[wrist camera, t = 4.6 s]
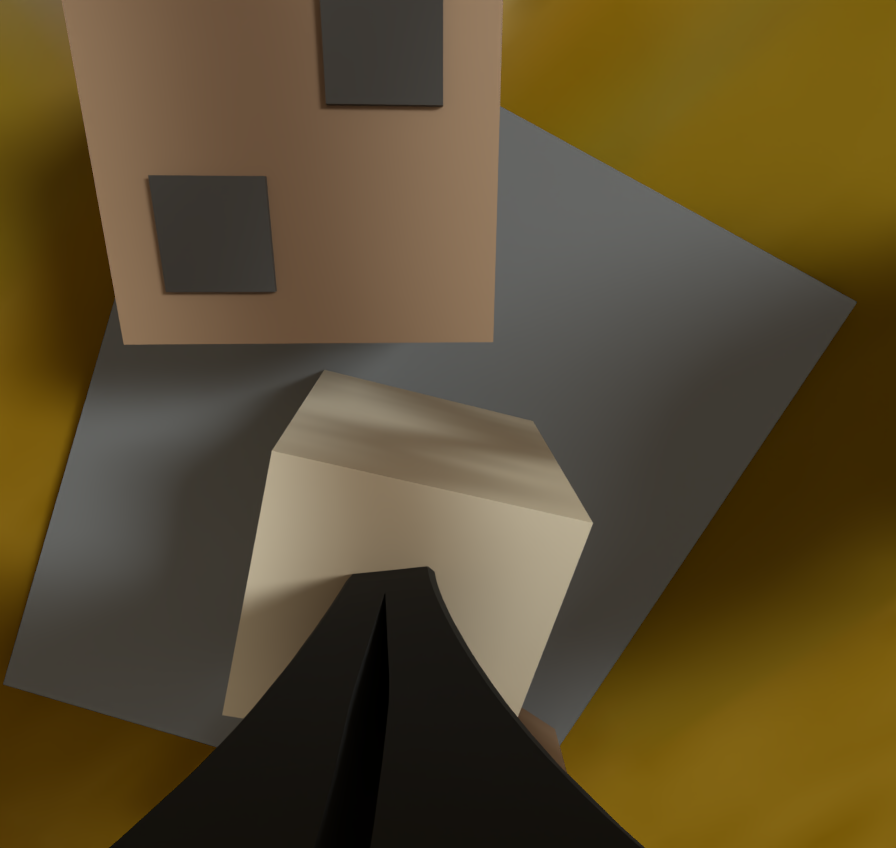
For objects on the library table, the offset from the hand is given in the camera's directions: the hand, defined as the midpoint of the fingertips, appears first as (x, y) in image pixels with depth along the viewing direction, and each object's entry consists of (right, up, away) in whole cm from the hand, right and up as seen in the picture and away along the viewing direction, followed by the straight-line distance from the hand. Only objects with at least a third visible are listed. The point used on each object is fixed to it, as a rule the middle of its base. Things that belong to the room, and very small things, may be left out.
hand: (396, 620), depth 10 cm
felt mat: (0, +1, +5) cm, 5 cm away
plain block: (0, +2, +5) cm, 5 cm away
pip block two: (-1, +8, +2) cm, 9 cm away
